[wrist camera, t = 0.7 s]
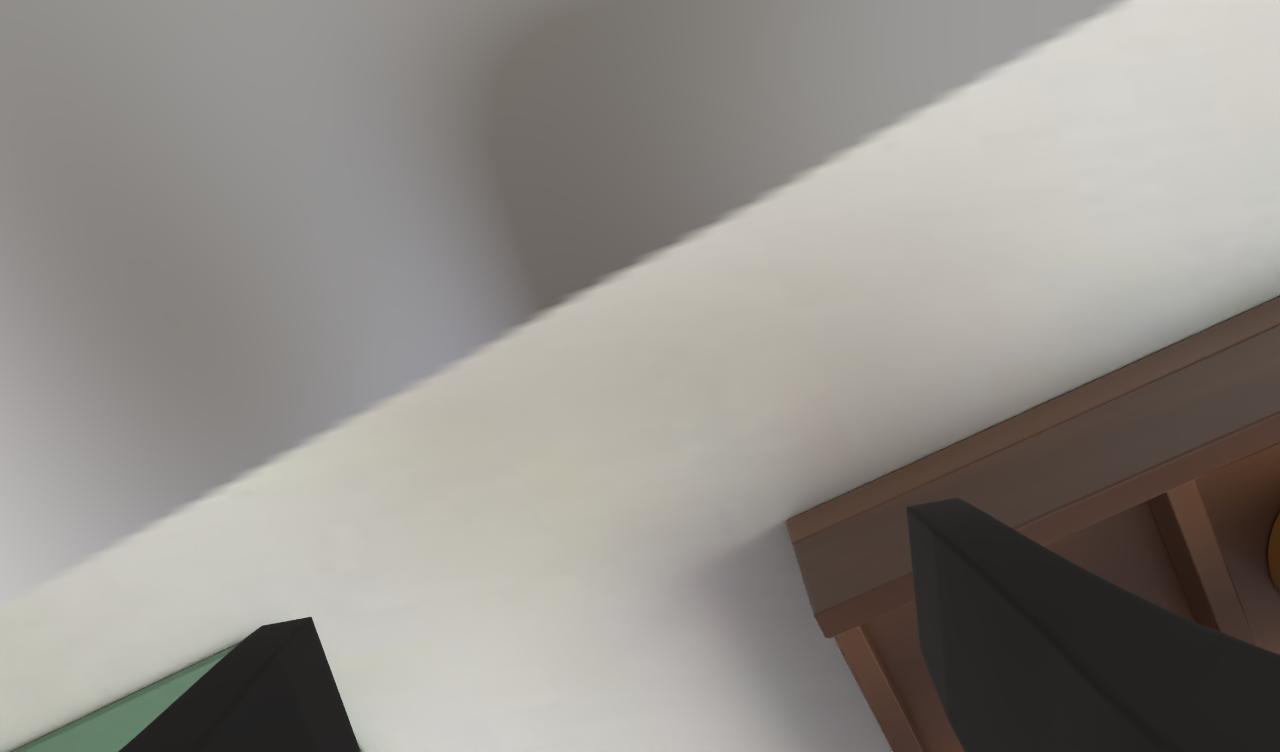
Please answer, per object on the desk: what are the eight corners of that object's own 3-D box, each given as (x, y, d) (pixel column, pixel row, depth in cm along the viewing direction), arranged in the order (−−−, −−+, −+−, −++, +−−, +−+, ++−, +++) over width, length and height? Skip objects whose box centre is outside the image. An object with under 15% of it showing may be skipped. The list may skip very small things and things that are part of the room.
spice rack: (1547, 602, 23) (1734, 713, 19) (948, 838, 25) (1005, 983, 21) (1440, 221, 21) (1631, 257, 17) (784, 520, 23) (813, 616, 19)
